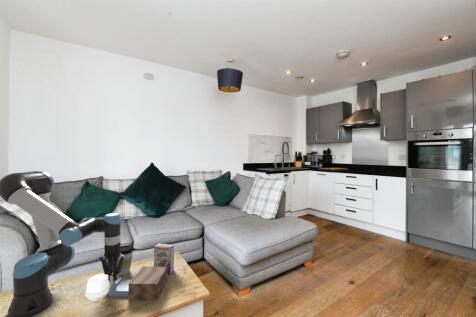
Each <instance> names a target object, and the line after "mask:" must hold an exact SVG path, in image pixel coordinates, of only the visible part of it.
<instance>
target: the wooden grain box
mask: <svg viewBox="0 0 476 317" xmlns="http://www.w3.org/2000/svg"><path fill="white" fill-rule="evenodd" d="M130 280H131V281H130V283H129V296H128V301H157V300H158V299H159V297H160V295H161V294H162V291H163V290H164V288H165V286H166V284H167V282H168V274H167V267H157V266H154V265H153V266H148V265H147V266H146V265H145V266H142V267H141V268H140V269H139V270H138V271H137V273H136V274H135V275H134V276H133V278H132V279H130Z"/></svg>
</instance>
